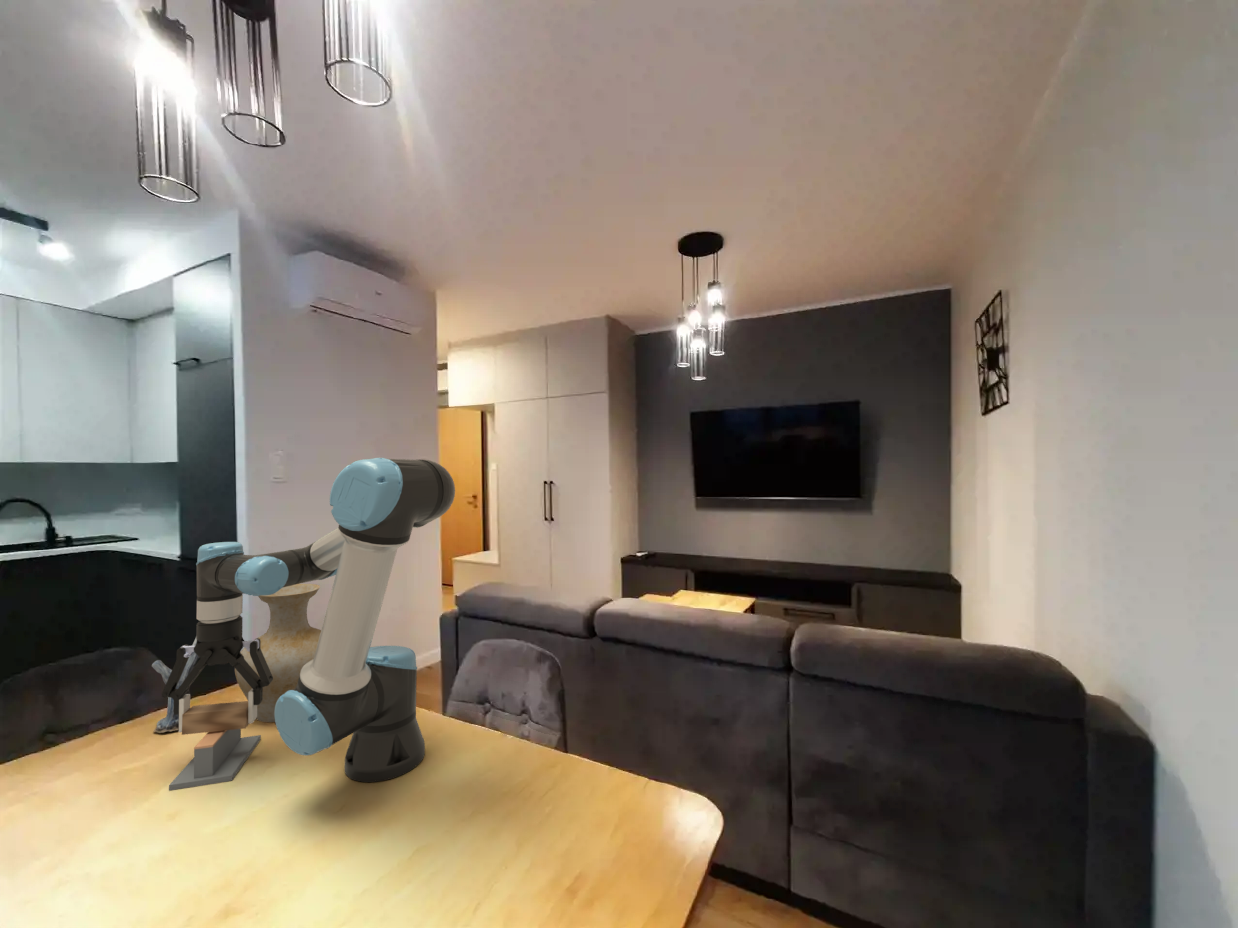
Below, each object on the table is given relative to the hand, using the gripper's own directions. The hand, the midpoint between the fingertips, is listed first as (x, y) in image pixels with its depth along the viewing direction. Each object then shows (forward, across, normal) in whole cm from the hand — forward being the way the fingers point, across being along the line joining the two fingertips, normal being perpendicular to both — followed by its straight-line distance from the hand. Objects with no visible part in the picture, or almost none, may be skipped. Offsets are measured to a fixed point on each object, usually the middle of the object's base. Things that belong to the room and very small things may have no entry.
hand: (219, 724), depth 106 cm
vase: (+8, -6, -23) cm, 25 cm away
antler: (+8, +15, -23) cm, 28 cm away
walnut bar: (0, 0, 0) cm, 0 cm away
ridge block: (+8, 0, 0) cm, 8 cm away
